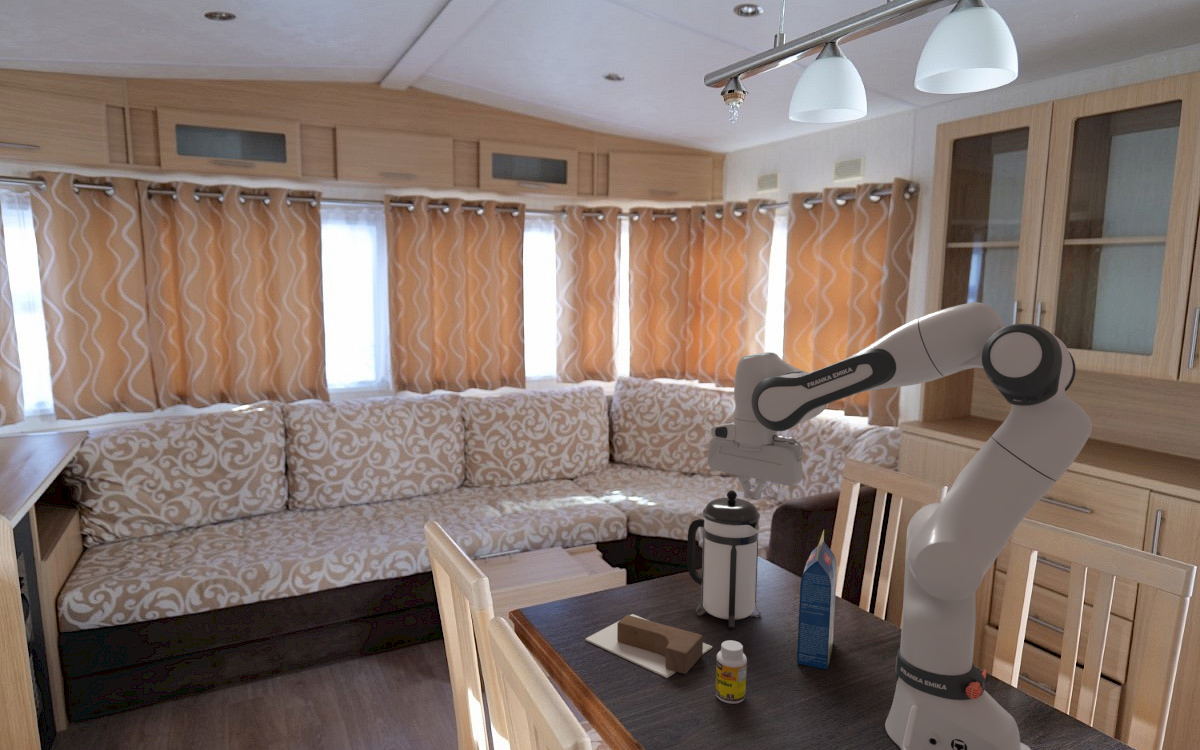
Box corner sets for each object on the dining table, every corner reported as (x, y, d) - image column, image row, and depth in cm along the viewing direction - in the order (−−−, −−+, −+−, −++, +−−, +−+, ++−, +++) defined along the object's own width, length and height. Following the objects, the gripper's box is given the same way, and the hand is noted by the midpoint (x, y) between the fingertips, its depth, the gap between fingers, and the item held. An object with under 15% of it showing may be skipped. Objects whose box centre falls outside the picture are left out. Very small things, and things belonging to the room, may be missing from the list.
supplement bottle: (709, 694, 134) (710, 643, 133) (729, 685, 138) (731, 634, 136) (731, 709, 130) (733, 656, 129) (751, 698, 133) (753, 646, 132)
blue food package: (795, 663, 146) (801, 545, 143) (803, 637, 157) (808, 527, 154) (828, 670, 143) (834, 550, 140) (833, 643, 154) (839, 531, 151)
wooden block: (686, 653, 140) (606, 630, 149) (685, 675, 140) (606, 651, 149) (703, 634, 147) (626, 613, 156) (703, 655, 148) (626, 633, 157)
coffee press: (757, 601, 174) (762, 482, 170) (763, 633, 158) (768, 501, 155) (686, 597, 176) (689, 478, 173) (684, 627, 161) (687, 498, 157)
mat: (712, 648, 152) (712, 646, 152) (667, 678, 140) (667, 676, 140) (632, 615, 166) (632, 613, 166) (585, 640, 154) (585, 638, 154)
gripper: (810, 437, 140) (806, 505, 142) (720, 423, 154) (719, 485, 156) (794, 442, 136) (791, 512, 137) (704, 427, 149) (702, 491, 151)
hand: (752, 498), depth 147 cm, fingers closed
